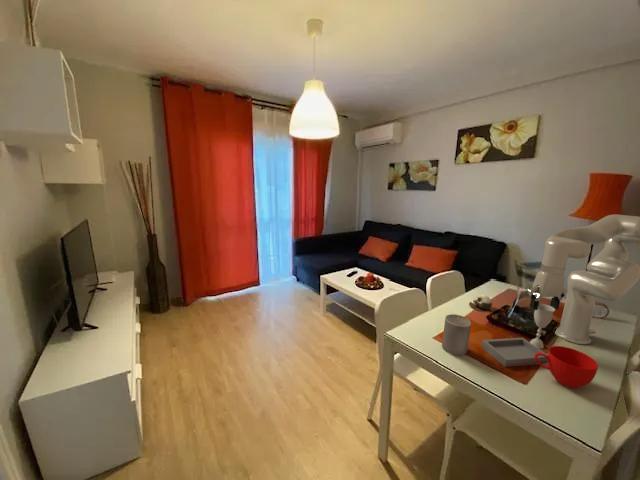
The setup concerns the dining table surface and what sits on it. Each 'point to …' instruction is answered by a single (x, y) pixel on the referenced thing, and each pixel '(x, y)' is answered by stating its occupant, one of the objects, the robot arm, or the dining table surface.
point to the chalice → (542, 321)
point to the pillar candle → (456, 334)
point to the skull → (481, 303)
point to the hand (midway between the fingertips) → (543, 308)
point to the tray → (513, 351)
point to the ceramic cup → (569, 366)
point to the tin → (600, 310)
